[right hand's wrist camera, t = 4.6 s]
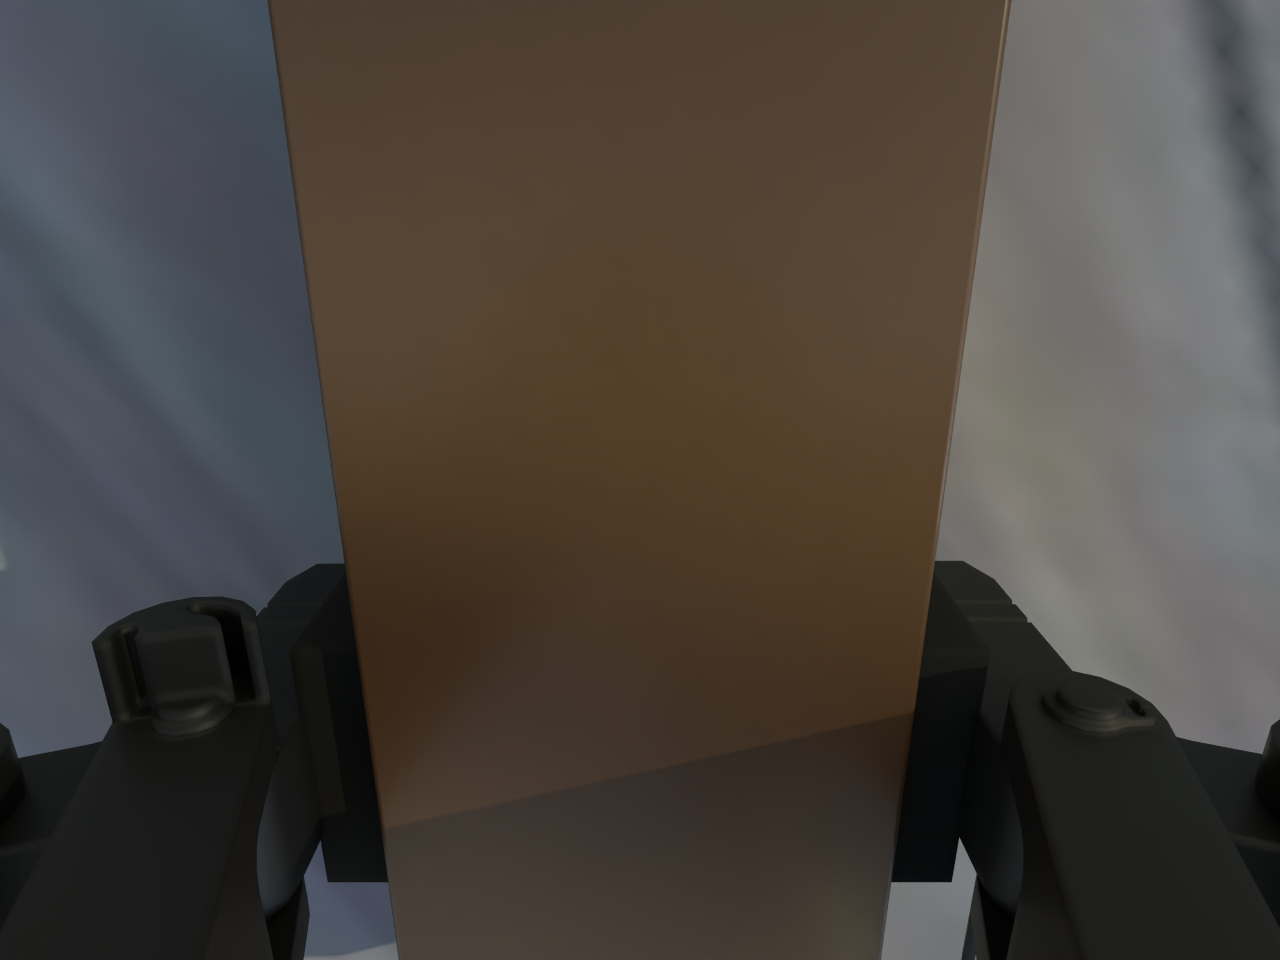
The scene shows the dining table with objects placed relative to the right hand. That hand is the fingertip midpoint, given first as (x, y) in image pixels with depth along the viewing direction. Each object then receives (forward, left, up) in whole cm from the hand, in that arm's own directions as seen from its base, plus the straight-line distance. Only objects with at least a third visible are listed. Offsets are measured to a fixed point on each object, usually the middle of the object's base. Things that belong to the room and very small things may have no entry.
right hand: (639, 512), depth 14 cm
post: (+16, +12, -1) cm, 20 cm away
